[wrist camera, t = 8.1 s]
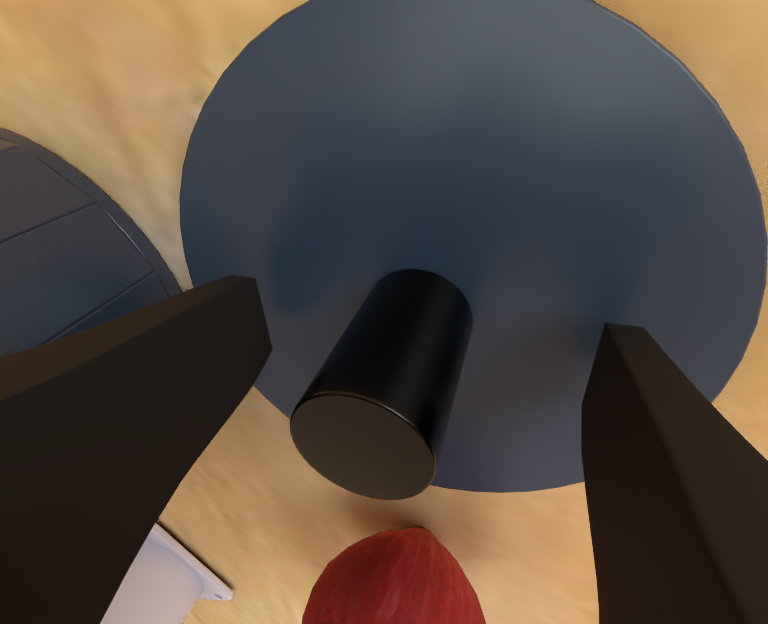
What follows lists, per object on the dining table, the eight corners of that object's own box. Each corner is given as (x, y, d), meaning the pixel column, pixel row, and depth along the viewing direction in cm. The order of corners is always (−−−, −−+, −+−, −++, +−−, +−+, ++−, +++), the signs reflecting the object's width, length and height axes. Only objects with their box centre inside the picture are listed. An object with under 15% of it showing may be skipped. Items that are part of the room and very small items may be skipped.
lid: (367, 480, 16) (307, 631, 12) (124, 182, 12) (-87, 267, 8) (805, 424, 9) (976, 706, 6) (617, -275, 5) (777, -1009, 1)
